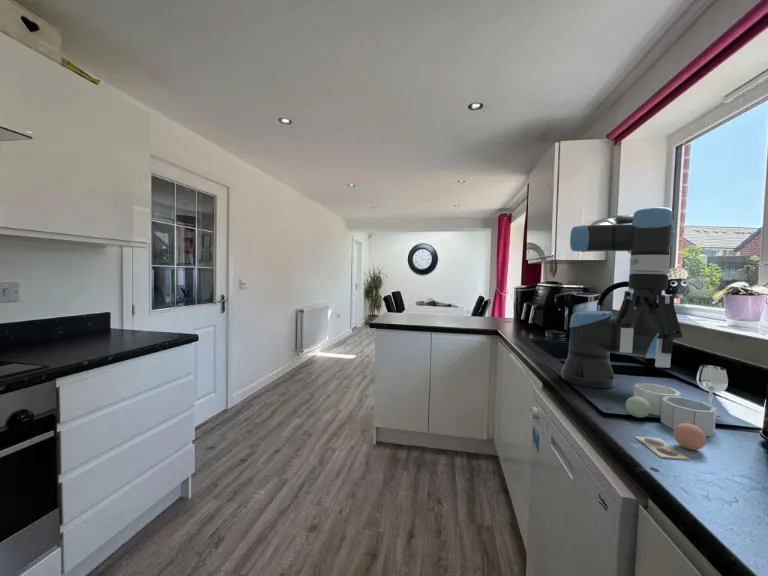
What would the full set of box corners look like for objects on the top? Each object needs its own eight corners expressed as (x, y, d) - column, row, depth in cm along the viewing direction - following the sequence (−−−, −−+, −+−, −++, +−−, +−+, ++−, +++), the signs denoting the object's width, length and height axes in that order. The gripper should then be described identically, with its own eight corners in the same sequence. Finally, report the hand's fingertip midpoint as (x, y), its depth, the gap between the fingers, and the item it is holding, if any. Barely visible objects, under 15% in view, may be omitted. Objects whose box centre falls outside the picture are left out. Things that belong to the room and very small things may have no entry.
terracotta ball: (666, 441, 72) (668, 418, 72) (692, 443, 71) (693, 420, 71) (684, 453, 67) (686, 429, 67) (712, 455, 66) (714, 431, 66)
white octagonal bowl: (626, 401, 94) (628, 382, 94) (661, 403, 93) (663, 384, 93) (648, 415, 85) (649, 393, 85) (687, 417, 84) (688, 396, 84)
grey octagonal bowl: (653, 417, 84) (654, 395, 84) (692, 419, 83) (694, 397, 83) (680, 434, 75) (682, 410, 75) (725, 437, 74) (727, 413, 74)
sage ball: (620, 411, 87) (621, 392, 87) (641, 413, 86) (642, 394, 86) (632, 420, 82) (633, 400, 82) (654, 421, 81) (656, 401, 81)
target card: (634, 437, 73) (634, 435, 73) (659, 439, 72) (659, 437, 72) (660, 457, 65) (660, 455, 65) (689, 460, 65) (689, 457, 64)
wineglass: (703, 407, 91) (706, 363, 91) (730, 416, 86) (734, 369, 85) (689, 409, 90) (692, 365, 89) (716, 418, 84) (719, 371, 83)
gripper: (604, 272, 95) (599, 346, 96) (669, 273, 70) (662, 373, 71) (632, 272, 94) (627, 348, 95) (709, 274, 69) (701, 375, 70)
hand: (642, 359), depth 83 cm, fingers open, 13 cm apart
